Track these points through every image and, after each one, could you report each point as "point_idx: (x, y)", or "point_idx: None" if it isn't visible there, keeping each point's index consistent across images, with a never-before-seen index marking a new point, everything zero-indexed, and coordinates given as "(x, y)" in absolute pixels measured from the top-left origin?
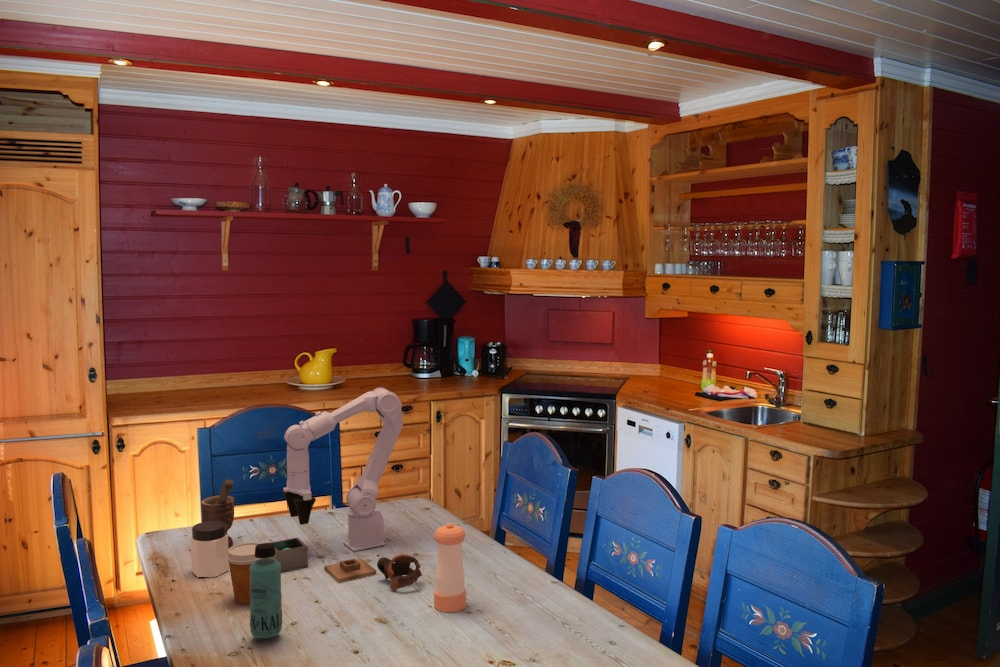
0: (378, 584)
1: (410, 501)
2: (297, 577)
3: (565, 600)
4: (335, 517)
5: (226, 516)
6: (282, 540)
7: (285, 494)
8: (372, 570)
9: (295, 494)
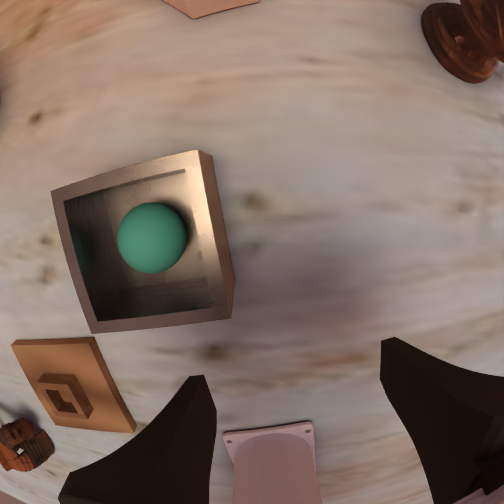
0: (17, 400)
1: None
2: (52, 249)
3: (15, 493)
4: None
5: (501, 7)
6: (208, 235)
7: (488, 421)
8: (56, 420)
9: (450, 472)
